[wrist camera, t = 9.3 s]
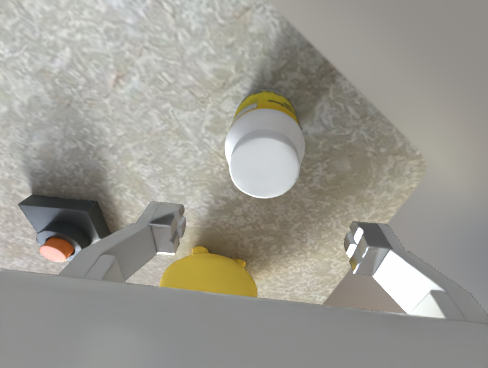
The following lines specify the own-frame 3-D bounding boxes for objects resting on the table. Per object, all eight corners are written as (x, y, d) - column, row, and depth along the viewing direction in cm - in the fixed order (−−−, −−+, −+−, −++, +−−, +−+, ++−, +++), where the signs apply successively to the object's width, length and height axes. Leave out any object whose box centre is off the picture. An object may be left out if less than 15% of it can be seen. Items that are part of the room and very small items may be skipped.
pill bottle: (305, 123, 24) (331, 179, 14) (259, 155, 26) (256, 220, 17) (271, 73, 21) (276, 102, 12) (224, 113, 24) (198, 162, 14)
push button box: (31, 194, 33) (4, 212, 29) (97, 201, 32) (78, 220, 29) (64, 248, 39) (45, 268, 36) (118, 254, 39) (105, 274, 36)
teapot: (297, 264, 37) (311, 367, 25) (259, 307, 45) (257, 398, 34) (180, 226, 34) (137, 323, 22) (163, 279, 42) (125, 369, 31)
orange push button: (44, 235, 32) (34, 244, 30) (69, 237, 32) (59, 247, 30) (55, 251, 34) (46, 261, 32) (78, 253, 34) (69, 263, 32)
